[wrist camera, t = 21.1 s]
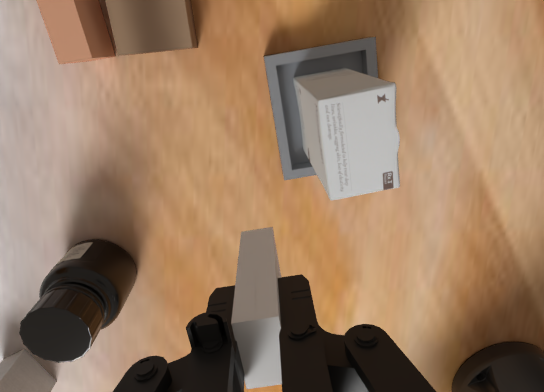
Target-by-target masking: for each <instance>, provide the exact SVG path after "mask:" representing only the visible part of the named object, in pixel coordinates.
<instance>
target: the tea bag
mask: <svg viewBox="0 0 544 392" xmlns="http://www.w3.org/2000/svg"><path fill="white" fill-rule="evenodd" d="M56 382H57V381H56V380H55V379H54V378H53V377H52V376H51V375H50V374H49V373H48V372H47V371H46V370H45V369H44V368H43V367H42V366H41V365H40V364H39V363H38V362H37V361H36V360H35V359H34V358H33V357H32V356H31V355H30V354H29V353H28V352H27V351H26V350H25V349H24V350H21V351H19V352H17V353H15V354H13V355H11V356H9V357H7V358H5V359H3V360H2V362H1V363H0V392H51V390H52V388H53V387H54V385H55V383H56Z"/></svg>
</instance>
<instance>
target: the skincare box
mask: <svg viewBox="0 0 544 392" xmlns="http://www.w3.org/2000/svg"><path fill="white" fill-rule="evenodd" d="M293 82H294V87H295V91H296V96H297V102H298V108H299V115H300V122H301V131H302V143H303V149H304V152H305V153H306V155H307V157H308V159H309V161H310V163H311V165H312V167H313V168H314V170H315V172H316V174H317V176H318V178H319V179H320V181H321V183H322V184H323V186H324V189H325V191H326V192H327V194H328V196H329V199H330V200H337V199H342V198H347V197H352V196H357V195H362V194H367V193H372V192H377V191H382V190H388V189H393V188H399V187H400V180H399V166H398V148H399V143H400V137H399V132H398V129H397V126H396V84H395V83H393V82H388V81H385V80H382V79H378V78H375V77H372V76H369V75H366V74H363V73H359V72H356V71H353V70H350V69H347V68H340V69H334V70H329V71H324V72H318V73H313V74H308V75H303V76H297V77H294V78H293Z"/></svg>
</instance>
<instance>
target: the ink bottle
mask: <svg viewBox="0 0 544 392" xmlns="http://www.w3.org/2000/svg"><path fill="white" fill-rule="evenodd" d="M135 280H136V267H135V263H134V261H133V259H132V258H131V256H130V255H129V254H128V253H127V252H126V251H125V250H124V249H122V248H121V247H119V246H117V245H115V244H113V243H110V242H107V241H103V240H87V241H83V242H80V243H78V244H77V245H75V246H74V247H73V248H71V249H70V250H69V251H68V252H67V253H66V255H65V256H64V257H63V258H62V259H61V260H60V261H59V262H58V263H57V264H56V266H55V267H54V268H53V269H52V270H51V271H50V272H49V274H48V275H47V276H46V277H45V279H44V280H43V282H42V285H41V288H40V294H39V297H40V299H39V301H38V302H37V303H36V304H35V305H34V307H33V308H32V309H31V310H30V311H29V312H28V314H27V315H26V317H25V318H24V319H23V320H22V321H21V323H20V324H21V327H20V332H19V333H20V335H21V338H22V340H23V344H24V345H25V346H26V347H27V348H28V349H29V350H30V351H31V352H32V353H33V354H35V355H37V356H39V357H41V358H43V359H44V360H49V361H54V362H58V363H61V362H72V361H74V360H76V359H78V358H80V357H83V356H84V355H85V353H86V352H87V351H88V350H89V349H90V348H91V346H92V344H93V342H94V340H95V338H96V337H97V335H98V333H99V331H100V330H101V329H104V328H106V327H107V326H109V325H110V324H111V323H112V322H113V321H114V320H115V319H116V318H117V316H118V315H119V313H120V311H121V309H122V307H123V306H124V304H125V302H126V300H127V298H128V296H129V294H130V292H131V290H132V288H133V286H134V283H135Z"/></svg>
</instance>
